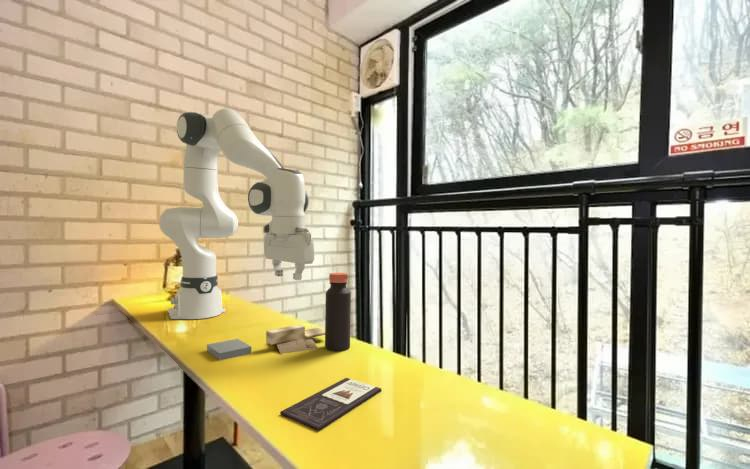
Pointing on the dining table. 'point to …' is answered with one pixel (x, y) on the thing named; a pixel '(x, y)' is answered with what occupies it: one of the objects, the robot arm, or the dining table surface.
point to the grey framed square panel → (228, 349)
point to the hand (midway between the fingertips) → (287, 277)
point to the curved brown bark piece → (296, 345)
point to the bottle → (337, 313)
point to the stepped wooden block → (291, 334)
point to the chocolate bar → (330, 403)
